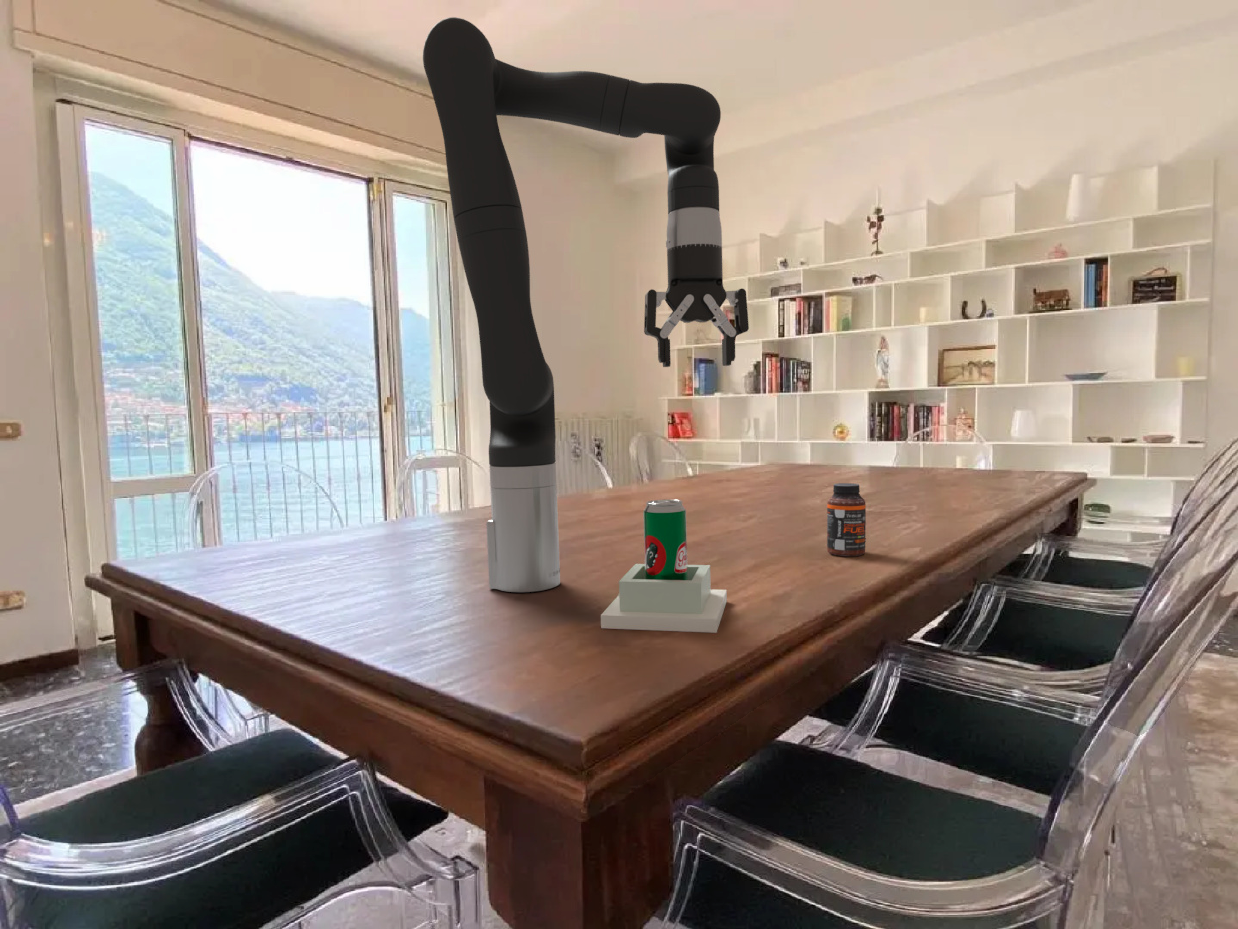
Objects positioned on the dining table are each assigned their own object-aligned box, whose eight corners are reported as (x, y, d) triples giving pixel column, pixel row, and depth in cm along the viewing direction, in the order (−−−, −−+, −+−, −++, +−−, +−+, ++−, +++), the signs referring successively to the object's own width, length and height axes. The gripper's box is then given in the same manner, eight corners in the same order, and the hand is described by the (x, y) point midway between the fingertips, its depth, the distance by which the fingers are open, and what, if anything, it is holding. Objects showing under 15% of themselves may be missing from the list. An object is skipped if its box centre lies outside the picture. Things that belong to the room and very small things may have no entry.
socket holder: (601, 628, 85) (599, 584, 85) (626, 598, 98) (624, 560, 97) (716, 632, 82) (715, 587, 82) (726, 601, 95) (726, 562, 94)
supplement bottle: (846, 559, 117) (845, 487, 116) (819, 553, 123) (818, 484, 122) (873, 554, 120) (873, 484, 119) (846, 548, 125) (846, 481, 125)
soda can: (686, 607, 87) (683, 504, 86) (643, 606, 88) (639, 504, 87) (690, 596, 92) (687, 498, 91) (649, 595, 93) (646, 499, 92)
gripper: (647, 241, 99) (650, 366, 100) (752, 241, 100) (754, 363, 101) (639, 253, 106) (642, 369, 107) (737, 252, 108) (739, 366, 109)
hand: (697, 366), depth 104 cm, fingers open, 8 cm apart
